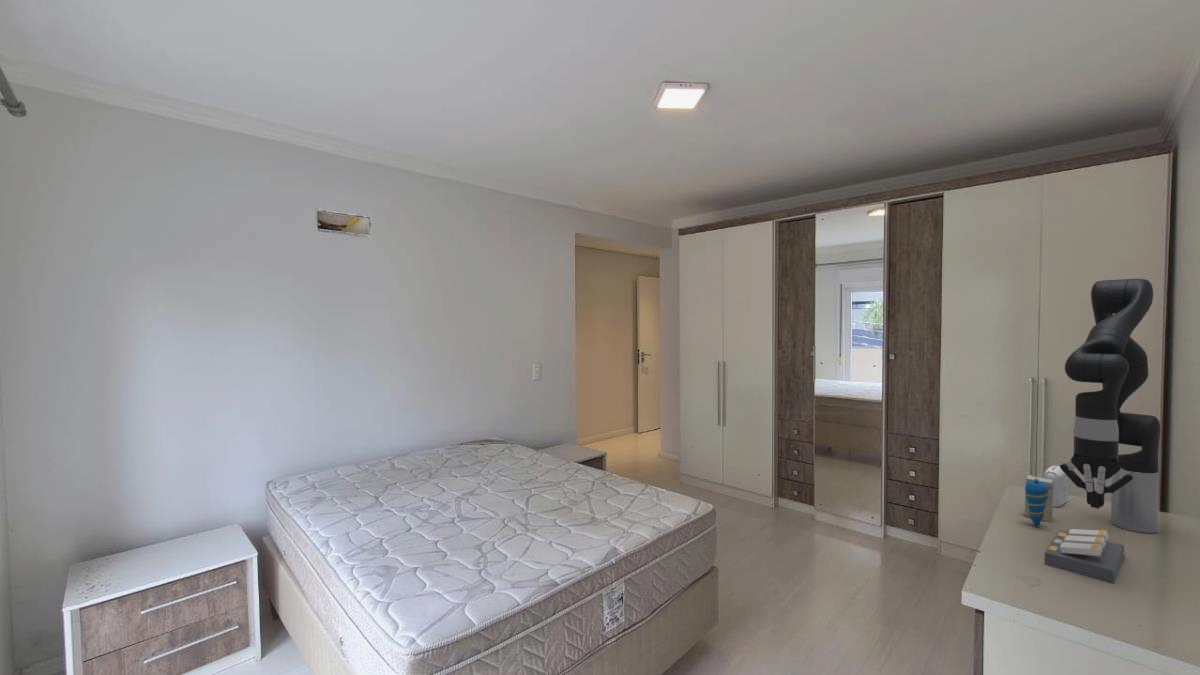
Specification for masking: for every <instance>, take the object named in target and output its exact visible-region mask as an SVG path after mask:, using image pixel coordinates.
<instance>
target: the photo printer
mask: <svg viewBox="0 0 1200 675" xmlns="http://www.w3.org/2000/svg"><path fill="white" fill-rule="evenodd" d="M1043 478H1045V479H1051V480H1053V508H1059V507H1062V506H1063V505H1064V504H1066V503H1067V501H1068V476H1067V475H1066V474H1065V473H1064V472H1063V471H1062V470H1061V468H1060V465H1052V466H1049V467H1048V468H1047V469H1046V470H1045V471H1044V474H1043ZM1066 496H1067V497H1066Z"/></svg>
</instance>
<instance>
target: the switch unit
mask: <svg viewBox="0 0 1200 675" xmlns="http://www.w3.org/2000/svg"><path fill="white" fill-rule="evenodd" d="M1068 533H1069V531H1066V530H1062V529H1059V530H1058V532H1057V534H1056V535H1055V536H1054V538H1053V539H1052V541H1051V542H1050V544H1049V545H1048V546H1047V548H1046V550H1045V551H1044V565H1047V566H1051V567H1054V568H1058V569H1060V570H1065V571H1068V572H1072V573H1075V574H1079V575H1083V576H1085V577H1089V578H1093V579H1097V580H1100V581H1104V582H1107V583H1110V584H1111V583H1112V584H1115V582H1116V580H1117V577H1118V575H1119V574H1118V573H1119V571H1120V568H1121V565H1122V563H1123V559H1124V556H1125V555H1124V554H1125V552H1124V550H1125V549H1124V546H1125V545H1124V544H1123V543H1117V542H1113V541H1110V540H1109V541H1108V540H1107V541H1105V542H1106V545H1105V547H1104V548H1102V550H1103V551H1102V554H1101V556H1095V555H1082V554H1070V553H1061V550H1060V545H1061V544H1062V542H1065V541H1064V539H1065V537H1066V536H1067V535H1069V534H1068Z"/></svg>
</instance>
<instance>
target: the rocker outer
mask: <svg viewBox="0 0 1200 675" xmlns="http://www.w3.org/2000/svg"><path fill="white" fill-rule="evenodd" d="M1060 550H1061V553H1070V554H1082V555H1095V556H1101V554H1102V551H1103V550H1102V547H1101V545H1099V544H1082V543H1068V542H1062V544H1061V545H1060Z"/></svg>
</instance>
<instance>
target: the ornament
mask: <svg viewBox="0 0 1200 675" xmlns="http://www.w3.org/2000/svg"><path fill="white" fill-rule="evenodd" d="M1035 477H1036V479H1034V481H1029V482H1028V483H1027V484H1026V483H1025V487H1024V491H1026V494H1027V496H1026V499H1027V501H1028V503H1029V505H1028V508H1029V511H1030V517H1031V518H1030V517H1029V518H1030V519H1031V521H1032V523H1033V525H1034V526H1035V527H1036V526H1037V527H1038V528H1039V527H1040V524H1041V522H1042V521H1043V520H1042V518H1043V516H1044V509H1045V506H1046V504H1045V502H1046V500H1047V498H1048V496H1047V493H1048V490H1049V488H1048V486H1047V485H1046V484H1045V483H1043V482H1039V479H1037V477H1038V476H1035Z"/></svg>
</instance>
